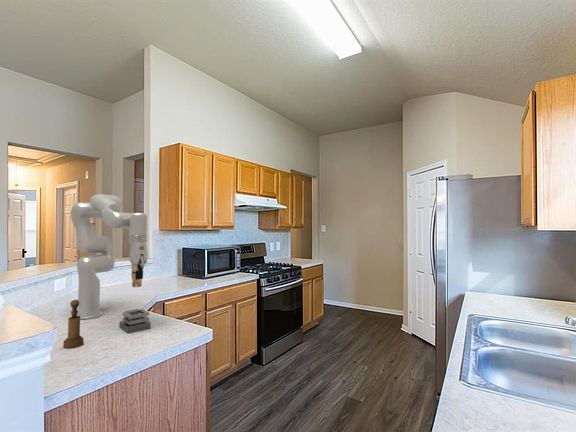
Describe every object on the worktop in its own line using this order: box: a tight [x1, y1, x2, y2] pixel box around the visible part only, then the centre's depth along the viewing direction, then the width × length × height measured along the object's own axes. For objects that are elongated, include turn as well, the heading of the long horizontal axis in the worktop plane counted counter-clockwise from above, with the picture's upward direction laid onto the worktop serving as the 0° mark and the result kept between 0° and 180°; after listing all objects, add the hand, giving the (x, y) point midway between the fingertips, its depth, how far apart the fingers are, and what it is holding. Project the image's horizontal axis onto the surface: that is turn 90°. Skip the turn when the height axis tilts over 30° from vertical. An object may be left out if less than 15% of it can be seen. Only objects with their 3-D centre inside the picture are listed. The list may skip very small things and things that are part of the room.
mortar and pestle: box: [62, 299, 84, 349], centre depth 123 cm, size 7×6×18 cm
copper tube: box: [131, 263, 143, 288], centre depth 144 cm, size 4×4×11 cm
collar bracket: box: [118, 308, 151, 335], centre depth 144 cm, size 11×10×7 cm
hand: (137, 278), depth 144 cm, fingers closed on copper tube, 4 cm apart
